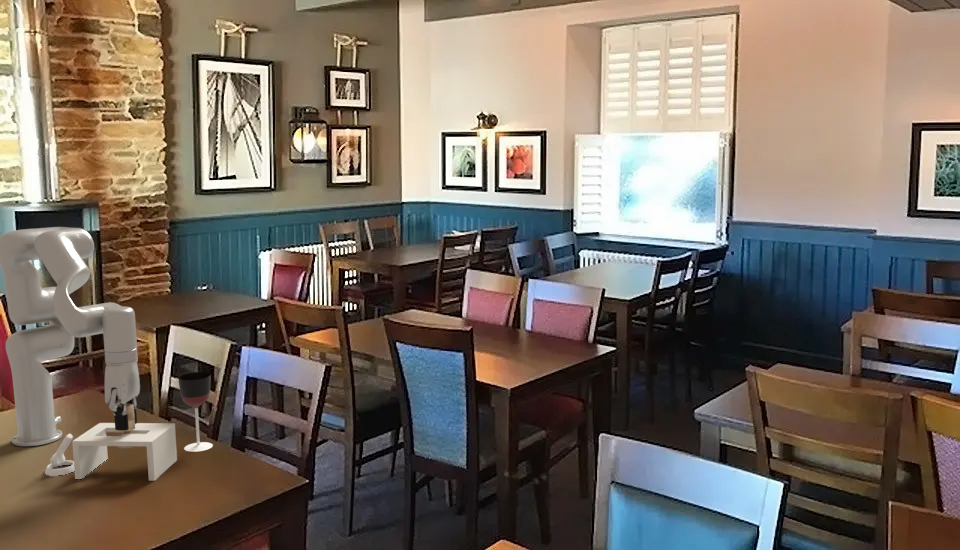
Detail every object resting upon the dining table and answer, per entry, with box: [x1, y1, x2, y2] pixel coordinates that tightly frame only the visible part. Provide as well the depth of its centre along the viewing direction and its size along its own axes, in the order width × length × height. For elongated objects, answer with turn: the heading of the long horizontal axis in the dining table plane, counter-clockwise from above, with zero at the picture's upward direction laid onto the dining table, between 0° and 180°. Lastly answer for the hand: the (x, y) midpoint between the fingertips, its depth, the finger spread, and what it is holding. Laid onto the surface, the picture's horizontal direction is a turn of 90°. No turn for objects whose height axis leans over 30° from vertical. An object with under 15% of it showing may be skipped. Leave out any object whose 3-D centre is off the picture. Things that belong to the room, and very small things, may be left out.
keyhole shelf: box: [71, 422, 178, 482], centre depth 214 cm, size 20×14×10 cm
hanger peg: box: [117, 404, 137, 450], centre depth 213 cm, size 5×5×10 cm
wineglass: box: [178, 371, 214, 453], centre depth 230 cm, size 8×9×20 cm
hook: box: [44, 433, 75, 477], centre depth 214 cm, size 8×12×7 cm
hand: (126, 426), depth 213 cm, fingers closed on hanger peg, 4 cm apart
